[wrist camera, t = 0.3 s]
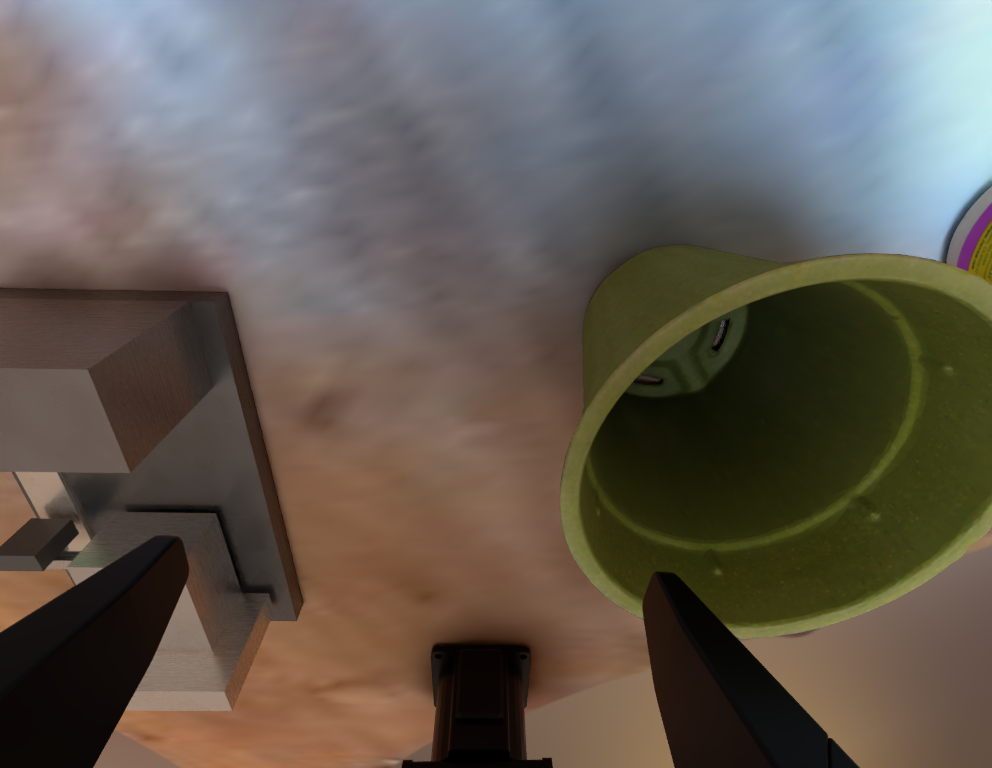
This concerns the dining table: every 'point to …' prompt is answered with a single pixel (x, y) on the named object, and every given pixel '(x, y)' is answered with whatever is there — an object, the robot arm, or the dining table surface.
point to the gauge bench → (203, 461)
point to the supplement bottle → (974, 240)
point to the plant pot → (781, 432)
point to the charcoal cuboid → (36, 544)
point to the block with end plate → (187, 612)
